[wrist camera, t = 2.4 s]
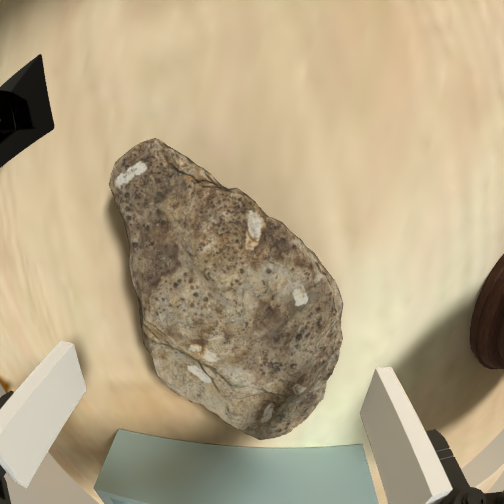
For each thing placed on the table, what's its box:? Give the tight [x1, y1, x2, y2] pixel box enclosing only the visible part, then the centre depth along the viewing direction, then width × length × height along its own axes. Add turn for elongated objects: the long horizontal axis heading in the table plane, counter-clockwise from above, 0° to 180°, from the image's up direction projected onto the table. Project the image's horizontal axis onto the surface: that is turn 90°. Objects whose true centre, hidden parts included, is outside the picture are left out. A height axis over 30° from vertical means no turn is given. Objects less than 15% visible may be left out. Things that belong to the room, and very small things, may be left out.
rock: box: [109, 138, 343, 440], centre depth 16 cm, size 18×11×4 cm, turn 43°
